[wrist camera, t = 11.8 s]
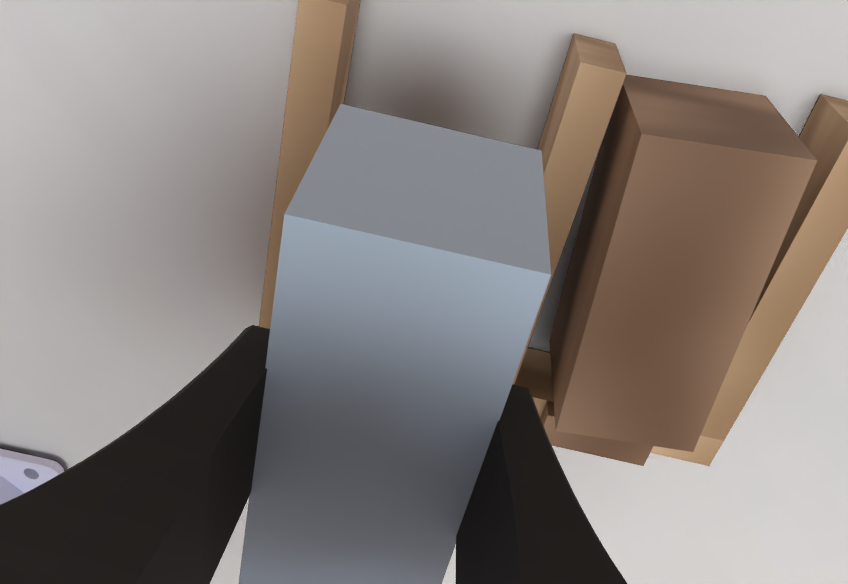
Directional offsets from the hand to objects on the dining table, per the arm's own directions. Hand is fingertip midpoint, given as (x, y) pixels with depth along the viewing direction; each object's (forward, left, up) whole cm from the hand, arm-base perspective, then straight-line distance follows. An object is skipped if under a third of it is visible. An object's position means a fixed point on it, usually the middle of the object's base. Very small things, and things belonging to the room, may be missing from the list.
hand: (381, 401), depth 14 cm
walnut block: (+6, 0, -9) cm, 11 cm away
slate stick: (0, 0, -3) cm, 3 cm away
